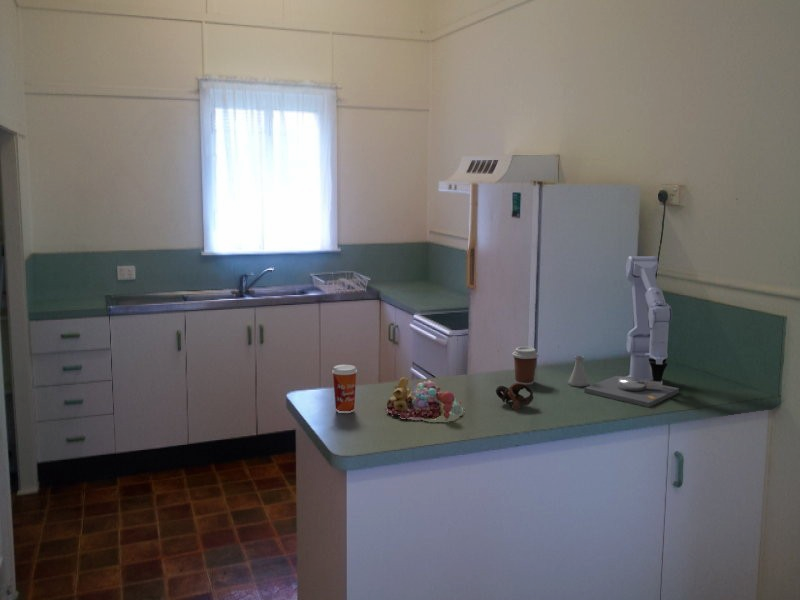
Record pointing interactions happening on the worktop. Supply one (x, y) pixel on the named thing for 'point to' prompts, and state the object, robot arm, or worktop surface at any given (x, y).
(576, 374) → the flask
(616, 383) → the base plate
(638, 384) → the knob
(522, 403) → the brown pretzel
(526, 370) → the coffee cup
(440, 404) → the candy landscape model
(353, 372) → the paper cup
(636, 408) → the worktop surface
